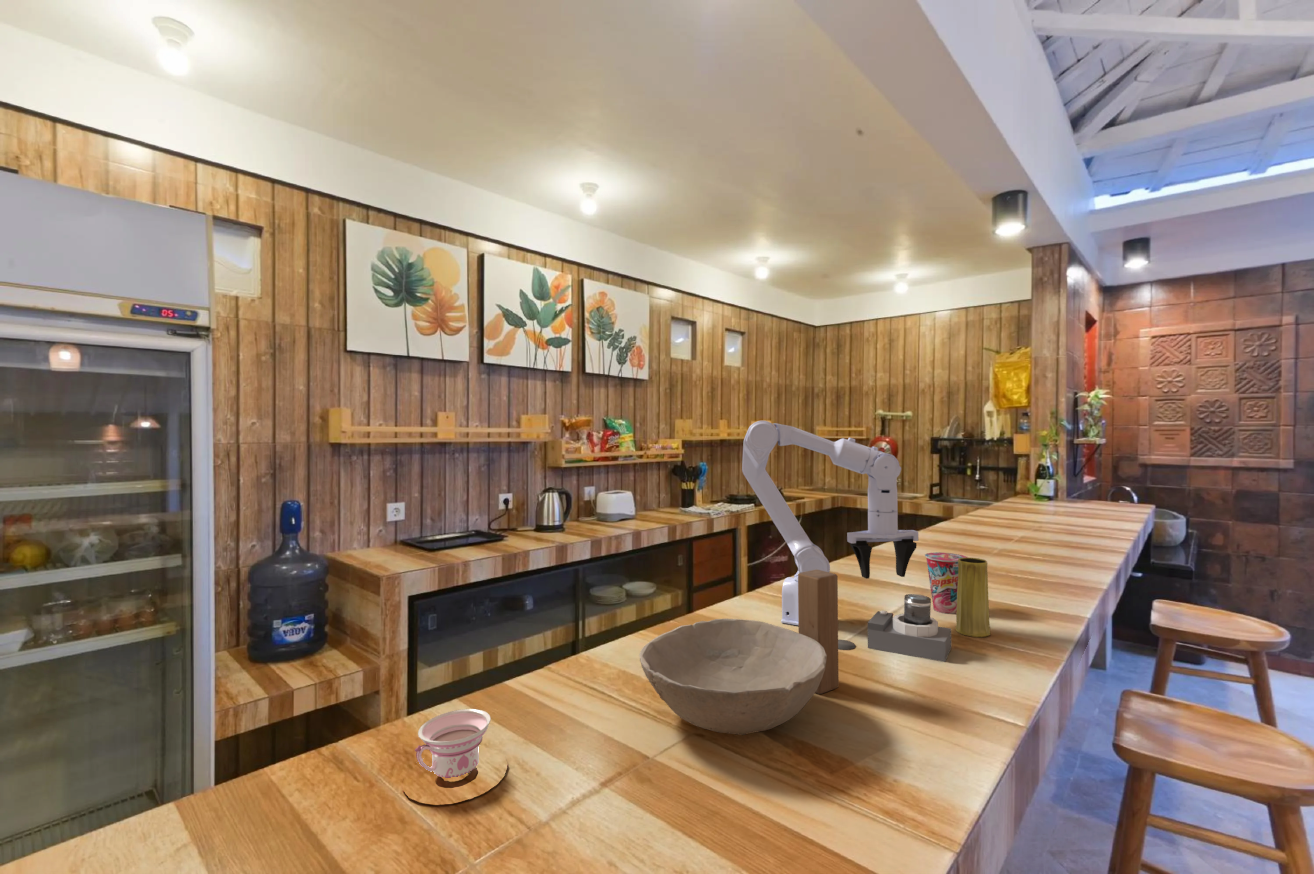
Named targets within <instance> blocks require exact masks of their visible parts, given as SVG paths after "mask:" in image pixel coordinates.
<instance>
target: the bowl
mask: <svg viewBox="0 0 1314 874" xmlns="http://www.w3.org/2000/svg"><path fill="white" fill-rule="evenodd" d="M638 656H639V661H640V664H641V668H642V670H643V673H644V674H645V677H646V679H647V680H648V682H649V683H650V685H651V686H652V687H653V689H654V690H655V692H656V693H657V694H658V696H659V698H660V699H661V700H662V701H664V703H665V705H667V706H668V707H669V708H670V710H671V711H673V713H675V714H676V715H677V716H678V717H679V718H680V719H683V721H685V722H687V723H690V724H691V725H694V726H696V727H698V728H701V729H703V730H709V731H713V732H716V733H722V734H723V733H724V734H730V735H731V734H733V735H742V736H745V735H747V734H751V733H758V732H763V731H768V730H769V731H770V730H771V729H773V728H775V727H778V726H780V725H782V724H784V723H786V722H788V721H789V720H791V719H792V718H794V717H795V716H796V715H797V714H799V712H801V711H802V709H803V708H805V707H804V706H806V704H807V703H808V702H809V701H810V700H811V699H812V697H813V696H814V695H815V693H816V691H817V689H818V687H819V684H820V682H821V679H822V677H823V674H824V671H825V667H826V659H827V655H826V653H825V650H824V648H823V647H822V646H821V645H820V643H818V642H817V641H816V640H814V639H812V638H810V637H807V636H805V635H802V634H800V633H799V632H797V631H793V630H791V629H788V628H785V627H782V626H779V625H775V624H772V623H768V622H766V621H765V622H764V621H759V620H755V619H739V618H714V619H711V620H708V621H707V620H700V621H698V622H697V621H696V622H694V623H693V624H685V625H684V624H683V625H680V626H678V627H676V628H673V629H671V630H670V631H666V632H664V633H661V634H660V635H658V636H656V637H654V638H653V639H652V640H650V641H649V642H647V643H646V644H645V645H644V646H643V647H642V648H641V650H640V652H639V655H638Z"/></svg>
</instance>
